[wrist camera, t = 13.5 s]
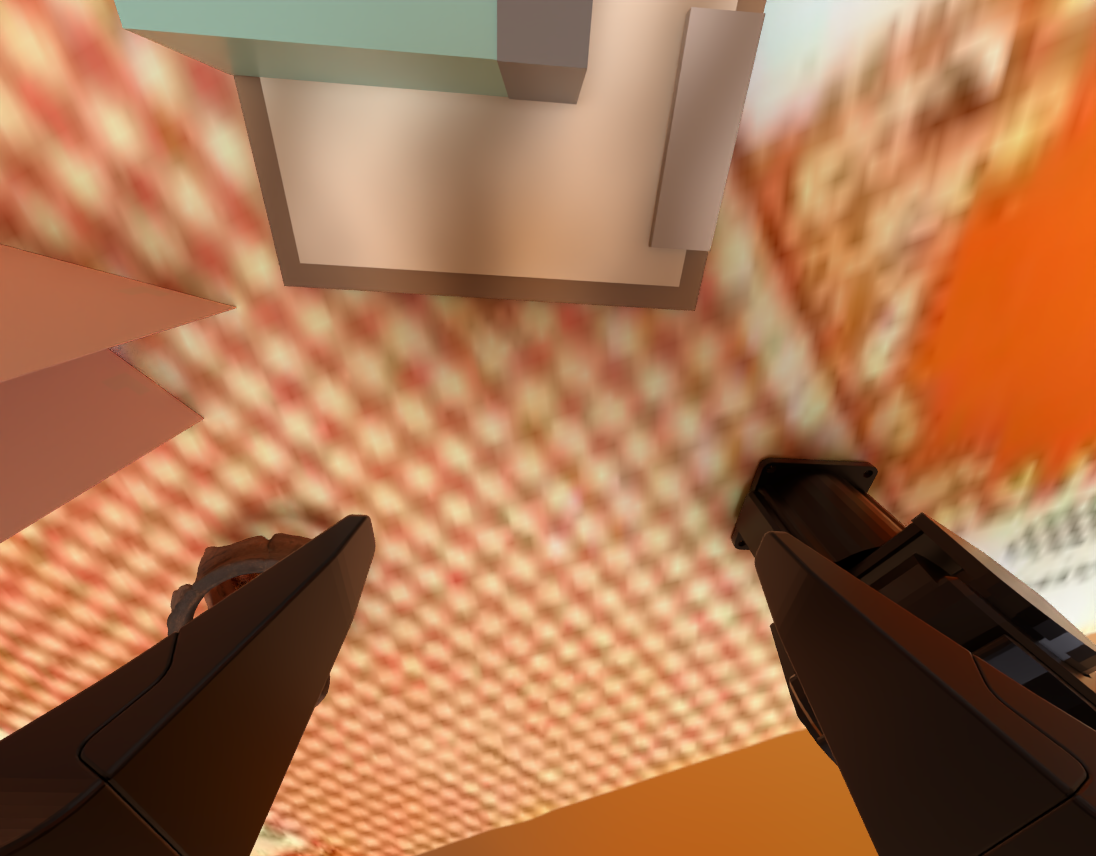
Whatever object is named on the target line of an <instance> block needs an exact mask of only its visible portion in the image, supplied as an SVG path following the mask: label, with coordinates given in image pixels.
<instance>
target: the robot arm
mask: <svg viewBox="0 0 1096 856" xmlns="http://www.w3.org/2000/svg"><path fill="white" fill-rule="evenodd" d="M770 466H772V467H771V468H770V469H767V468H768V467H770ZM877 472H878V471H877V469H876V468H875V467H874V466H873V465H871V464H870V463H865V462H844V461H823V460H802V459H781V458H767V459H765V460H763V461H762V462H761V463H760V464H759V467H758V469H757V472H756V475H755V477H754V480H753V483H752V486H751V488H750V491H749V493H748V494H747V496H746V499H745V501H744V504H743V507H742V509H741V512H740V515H739V518H738V520H737V523H736V529H735V531H734V534H733V537H732V543H733V545H734V546H735V548H737V549H741V550H750V551H751V553H752V554H753V556H754V557H755V567H756V571H757V574H758V577H759V580H760V583H761V585H762V588H763V591H764V594H765V597H766V600H767V603H768V606H769V609H770V612H771V615H772V618H773V621H774V623H772V624H771V625H770V628H771V631H772V634H773V638H774V641H775V645H776V648H777V651H778V655H779V658H780V662H781V665H782V668H783V672H784V675H785V679H786V682H787V685H788V689H789V692H790V696H791V698H792V701H793V704H794V707H795V710H796V713H797V716H798V718H799V719H800V721H801V722H802V723H803V724H804V725H805V727H806V728H807V730H808V731H809V733H810V734H811V735H812V737H813V738H814V739H815V741H816V742H817V744H818V745H819V746H820V747H821V748H822V749H823V751H825V753H826V754H827V755H828V756H829V757H830V758H831V759H832V760H833V761H834V762H835V764H836V765H837V766H838V767H839V769H840V771H841V774H842V776H843V778H844V780H845V782H846V785H847V787H848V789H849V791H850V794H851V796H852V798H853V800H854V802H855V805H856V807H857V809H858V811H859V813H860V816H861V818H862V820H863V822H864V824H865V827H866V829H867V831H868V833H869V836H870V838H871V840H872V842H873V844H874V846H875V849H876V851H877V853H878V855H879V856H1096V672H1095V671H1096V645H1095V644H1094V643H1093V642H1091V641H1090V640H1089V639H1088V638H1087V637H1086V636H1085V635H1084V634H1083V633H1082V632H1080V631H1079V630H1078V629H1077V628H1076V627H1075V626H1074V625H1073V624H1072V623H1071V622H1069V621H1068V620H1067V619H1066V618H1065V617H1064V616H1063V615H1062V614H1061V613H1059V612H1058V611H1057V610H1056V609H1055V608H1054V607H1053V606H1052V605H1051V604H1049V603H1048V602H1047V601H1046V600H1045V599H1044V598H1043V597H1042V596H1040V595H1039V594H1038V593H1037V592H1035V591H1034V590H1033V589H1031V588H1030V587H1029V586H1027V585H1026V584H1025V583H1023V582H1022V581H1021V580H1019V579H1018V578H1017V577H1015V576H1014V575H1013V574H1011V573H1010V572H1009V571H1008V570H1006V569H1005V568H1004V567H1002V566H1001V565H1000V564H998V563H997V562H996V561H994V560H993V559H992V558H990V557H989V556H988V555H986V554H985V553H984V552H982V551H981V550H979V549H978V548H976V547H974V546H973V545H971V544H970V543H968V542H967V541H965V540H964V539H962V538H961V537H959V536H958V535H956V534H955V533H953V532H952V531H950V530H949V529H947V528H946V527H944V526H943V525H941V524H939V523H938V522H936V521H935V520H933V519H932V518H930V517H929V516H927V515H926V514H924V513H923V512H922V513H921V514H919V515H918V516H916V517H915V518H914V519H912V520H911V521H912V522H913V523H911V524H910V525H909V526H907V527H905V526H904V525H903V524H902V523H901V522H899V521H898V520H897V519H896V518H895V517H894V516H893V515H891V514H890V513H889V512H888V511H887V510H886V509H885V508H883V507H882V506H881V505H880V504H879V503H878V502H877V501H875V500H874V499H873V498H872V497H871V496H870V495H869V494H867V491H868V490H869V488H870V486H871V484H872V482H873V480H874V479H875V477H876V475H877ZM740 541H741V542H740ZM374 552H375V538H374V533H373V528H372V523H371V519H370V517H369V516H367V515H353V514H352V515H348V516H346V517H345V518H343V519H342V520H340V521H339V522H337V523H336V524H334V525H333V526H331V527H330V528H328V529H327V530H325V531H324V532H323V533H321V534H320V535H318V536H317V537H315V538H314V539H312V540H311V541H309V542H308V543H306V544H305V545H303V546H302V547H300V548H299V549H297V550H296V551H294V552H293V553H291V554H290V555H288V556H287V557H285V558H284V559H282V560H281V561H279V562H278V563H276V564H275V565H273V566H272V567H270V568H269V569H267V570H266V571H264V572H263V573H261V574H260V575H258V576H257V577H256V578H254V579H253V580H251V581H250V582H248V583H247V584H245V585H244V586H242V587H241V588H239V589H238V590H236V591H235V592H233V593H232V594H230V595H229V596H227V597H226V598H224V599H223V600H221V601H220V602H218V603H217V604H215V605H214V606H212V607H211V608H209V609H208V610H206V611H205V612H203V613H202V614H200V615H199V616H197V617H196V618H194V619H193V620H191V621H190V622H189V623H187V624H186V625H184V626H183V627H181V628H180V629H179V632H173V633H172V634H170V635H169V636H167V637H166V638H164V639H163V640H161V641H160V642H159V643H157V644H156V645H154V646H153V647H151V648H150V649H148V650H146V651H145V652H143V653H142V654H140V655H139V656H137V657H136V658H134V659H133V660H131V661H130V662H128V663H126V664H125V665H123V666H122V667H120V668H119V669H117V670H116V671H114V672H113V673H111V674H109V675H108V676H106V677H105V678H103V679H101V680H100V681H98V682H96V683H95V684H93V685H92V686H90V687H88V688H87V689H85V690H83V691H82V692H80V693H79V694H77V695H75V696H74V697H72V698H70V699H69V700H67V701H66V702H64V703H62V704H61V705H59V706H57V707H56V708H54V709H52V710H51V711H49V712H47V713H46V714H44V715H42V716H41V717H39V718H37V719H36V720H34V721H32V722H31V723H29V724H27V725H26V726H24V727H22V728H21V729H19V730H17V731H16V732H14V733H12V734H11V735H9V736H7V737H6V738H4V739H2V740H1V741H0V856H250V854H251V851H252V849H253V847H254V845H255V842H256V840H257V838H258V835H259V833H260V831H261V829H262V826H263V824H264V822H265V819H266V817H267V815H268V813H269V810H270V808H271V806H272V803H273V801H274V799H275V797H276V794H277V792H278V790H279V788H280V785H281V783H282V781H283V778H284V776H285V774H286V772H287V769H288V767H289V765H290V762H291V760H292V758H293V756H294V753H295V751H296V749H297V747H298V744H299V742H300V740H301V737H302V735H303V733H304V731H305V728H306V726H307V724H308V721H309V719H310V717H311V715H312V712H313V710H314V708H315V706H316V703H317V701H318V699H319V696H320V694H321V692H322V690H323V687H324V685H325V683H326V680H327V678H328V676H329V674H330V671H331V669H332V667H333V665H334V662H335V660H336V658H337V655H338V653H339V651H340V649H341V646H342V644H343V642H344V639H345V637H346V635H347V633H348V630H349V628H350V625H351V623H352V621H353V618H354V615H355V612H356V609H357V606H358V603H359V600H360V597H361V594H362V591H363V587H364V584H365V581H366V578H367V575H368V571H369V568H370V565H371V562H372V559H373V556H374Z"/></svg>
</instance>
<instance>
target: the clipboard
mask: <svg viewBox="0 0 1096 856" xmlns="http://www.w3.org/2000/svg"><path fill="white" fill-rule="evenodd" d="M765 4H766V0H593V5H592V17H591V29H590V41H589V53H588V65H587V71H586V74H585V78H584V81H583V84H582V88H581V91H580V94H579V97H578V101H577V104H566V103H554V102H541V101H529V100H516V99H509V97H501V96H489V95H477V94H464V93H452V92H439V91H427V90H415V89H402V88H390V87H378V86H365V85H353V84H340V83H328V82H316V81H303V80H291V79H278V78H266V77H254V76H241V75H234V79H235V83H236V87H237V91H238V95H239V99H240V103H241V108H242V112H243V116H244V120H245V124H246V128H247V133H248V137H249V141H250V145H251V149H252V153H253V157H254V162H255V166H256V170H257V174H258V178H259V182H260V187H261V191H262V195H263V199H264V203H265V207H266V211H267V216H268V220H269V224H270V228H271V232H272V236H273V241H274V245H275V249H276V253H277V257H278V261H279V265H280V270H281V274H282V278H283V282H284V286H294V287H311V288H327V289H344V290H360V291H377V292H393V293H410V294H426V295H443V296H459V297H476V298H492V299H509V300H525V301H542V302H559V303H575V304H592V305H608V306H625V307H641V308H658V309H674V310H691V311H695V308H696V303H697V299H698V295H699V290H700V286H701V282H702V277H703V273H704V268H705V264H706V260H707V255H708V251H710V250H711V245H712V241H713V237H714V232H715V228H716V224H717V219H718V215H719V211H720V207H721V202H722V198H723V194H724V189H725V185H726V181H727V176H728V172H729V168H730V163H731V159H732V155H733V151H734V146H735V142H736V138H737V133H738V129H739V125H740V120H741V116H742V112H743V107H744V103H745V99H746V94H747V90H748V86H749V82H750V77H751V73H752V69H753V64H754V60H755V56H756V51H757V47H758V43H759V38H760V34H761V30H762V26H763V21H764V17H765V13H763V12H764V8H765Z"/></svg>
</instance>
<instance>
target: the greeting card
mask: <svg viewBox="0 0 1096 856" xmlns="http://www.w3.org/2000/svg"><path fill="white" fill-rule="evenodd" d="M235 308H236V307H234V306H230V305H226V304H222V303H219V302H215V301H211V300H207V299H204V298H200V297H196V296H192V295H189V294H185V293H181V292H177V291H174V290H170V289H166V288H162V287H159V286H155V285H151V284H147V283H144V282H140V281H136V280H132V279H129V278H125V277H121V276H117V275H114V274H110V273H106V272H102V271H99V270H95V269H91V268H87V267H84V266H80V265H76V264H72V263H69V262H65V261H61V260H57V259H54V258H50V257H46V256H42V255H39V254H35V253H31V252H27V251H24V250H20V249H16V248H13V247H9V246H5V245H1V244H0V543H2V542H3V541H5V540H6V539H8V538H10V537H11V536H13V535H15V534H16V533H18V532H20V531H21V530H23V529H24V528H26V527H28V526H29V525H31V524H33V523H34V522H36V521H38V520H39V519H41V518H42V517H44V516H46V515H47V514H49V513H51V512H52V511H54V510H56V509H57V508H59V507H60V506H62V505H64V504H65V503H67V502H69V501H70V500H72V499H73V498H75V497H77V496H78V495H80V494H82V493H83V492H85V491H87V490H88V489H90V488H91V487H93V486H95V485H96V484H98V483H100V482H101V481H103V480H105V479H106V478H108V477H109V476H111V475H113V474H114V473H116V472H118V471H119V470H121V469H123V468H124V467H126V466H127V465H129V464H131V463H132V462H134V461H136V460H137V459H139V458H141V457H142V456H144V455H145V454H147V453H149V452H150V451H152V450H154V449H155V448H157V447H158V446H160V445H162V444H163V443H165V442H167V441H168V440H170V439H172V438H173V437H175V436H176V435H178V434H180V433H181V432H183V431H185V430H186V429H188V428H190V427H191V426H193V425H194V424H196V423H198V422H199V421H201V420H203V419H204V418H202V417H201V416H200V415H198V414H197V413H196V412H194V411H193V410H191V409H190V408H189V407H187V406H186V405H185V404H183V403H182V402H180V401H179V400H178V399H176V398H175V397H174V396H172V395H171V394H169V393H168V392H167V391H165V390H164V389H163V388H161V387H160V386H159V385H157V384H156V383H154V382H153V381H152V380H150V379H149V378H148V377H146V376H145V375H143V374H142V373H141V372H139V371H138V370H137V369H135V368H134V367H132V366H131V365H130V364H128V363H127V362H126V361H124V360H123V359H121V358H120V357H119V356H117V355H116V354H115V353H113V352H112V351H110V350H109V349H108V348H112V347H115V346H118V345H121V344H124V343H127V342H130V341H134V340H137V339H140V338H143V337H146V336H149V335H153V334H156V333H159V332H162V331H165V330H168V329H172V328H175V327H178V326H181V325H184V324H187V323H190V322H194V321H197V320H200V319H203V318H206V317H209V316H213V315H216V314H219V313H222V312H225V311H228V310H232V309H235Z"/></svg>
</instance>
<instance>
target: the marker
mask: <svg viewBox="0 0 1096 856" xmlns="http://www.w3.org/2000/svg"><path fill="white" fill-rule="evenodd" d="M114 2H115V5H116V8H117V11H118V14H119V17H120V20H121V23H122V27H123V28H124V29H126V30H128V31H131V32H133V33H135V34H138V35H140V36H142V37H144V38H147V39H149V40H151V41H154V42H156V43H158V44H161V45H163V46H165V47H168V48H170V49H172V50H175V51H177V52H179V53H181V54H184V55H186V56H188V57H191V58H193V59H195V60H198V61H200V62H202V63H205V64H207V65H209V66H211V67H214V68H216V69H218V70H221V71H223V72H225V73H228V74H230V75H241V76H254V77H266V78H278V79H291V80H303V81H316V82H328V83H340V84H353V85H365V86H378V87H390V88H402V89H415V90H427V91H439V92H452V93H464V94H477V95H489V96H501V97H509V99H516V100H529V101H541V102H554V103H566V104H577V101H578V97H579V94H580V91H581V88H582V84H583V81H584V78H585V74H586V71H587V65H588V53H589V41H590V29H591V17H592V5H593V0H114Z"/></svg>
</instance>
